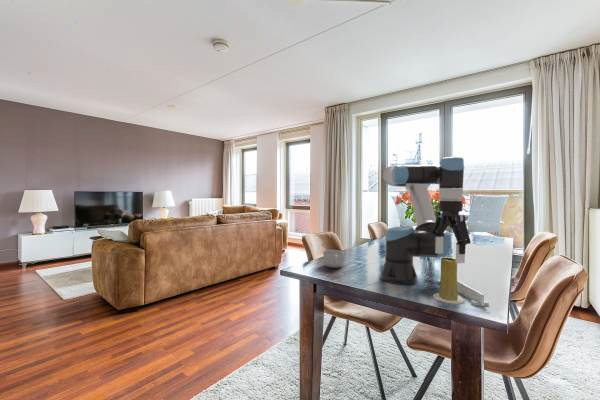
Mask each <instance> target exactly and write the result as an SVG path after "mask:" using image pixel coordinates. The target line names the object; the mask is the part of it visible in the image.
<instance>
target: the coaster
mask: <svg viewBox="0 0 600 400" xmlns="http://www.w3.org/2000/svg"><path fill="white" fill-rule="evenodd" d="M432 296H433V298H434V300H437V301H438V302H441V303H445V304H451V305H460V304H464V302H465V299H464V298H463V297H462V296H459V295H457V296H458V299H457V300H446V299H443V298H441V297H440V296H439V292H436V293H433V295H432Z"/></svg>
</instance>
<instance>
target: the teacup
mask: <svg viewBox="0 0 600 400" xmlns="http://www.w3.org/2000/svg"><path fill="white" fill-rule="evenodd" d="M344 259H345V252H344V251H342V250H337V249H324V250H323V264H324V265H325V266H326V267H328V268H333V269H334V268H335V269H336V268H340V267H341V266H343V264H344Z"/></svg>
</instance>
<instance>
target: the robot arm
mask: <svg viewBox="0 0 600 400" xmlns="http://www.w3.org/2000/svg"><path fill="white" fill-rule="evenodd" d="M464 165H465V161H464V158H463V157H461V156H449V157H448V156H447V157H443V158H440V162H439V164H397V165H390V166H387V167H386V168H384V170H383V171H382V173H381V178H382V181H383V182H384V183H385V184H386V185H388V186H393V187H400V188H401V187H404V189H405V191H406V192H407V193H409V195H410V199H411V204H412V209H413V214H414V217H415V218H414V219H415V222H416V227H415V228H414V227H413V226H395V227H389V228H388V229H386V232H385V239H384V240H385V242H384V243H385V253H384V257H385V258H384V263H383V266H382V269H381V272H380V279H381V280H383V281H385V282H387V283H391V284H394V285H403V286H404V285H405V286H409V285H414V284H416V283H417V282H418V276H417V271H416V269H415V266H414V258H435V259H437V258H443V257H447V256H448V255H449V253H450V251H451V247H452V235H451V233H450V231H449V230H447V228H448V227H450V228H451V230H452V232H453V235H454V237H455V239H456V243H455V259H456V263H457V264H465V262H466V261H465V259H466V258H465V257H466V256H465V255H466V245H470V244H471V239H470V234H469V230H468V227H467V223H466V215H464V214H460V213H459V212H462V211H463V201H462V200H463V199H464V197H463V194H464V189H463V188H464V171H465V166H464ZM431 185H439V189H438V190H439V195H438V197H439V198H438V199H439V202H438V210H439V211H437V213H436V215H435V210H434V206H433V204H432V200H431V196H430V193H429V190H428V189H429V186H431Z"/></svg>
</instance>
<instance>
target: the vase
mask: <svg viewBox="0 0 600 400" xmlns="http://www.w3.org/2000/svg"><path fill="white" fill-rule="evenodd" d="M440 258H441V259H440V279H439V280H440V283H439V292H438V293H439V296H440V297H441V298H443V299H446V300H457V299H458V296H459V295H458V292H457V280H458V263H456V258H454V257H447V256H446V257H440Z"/></svg>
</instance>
